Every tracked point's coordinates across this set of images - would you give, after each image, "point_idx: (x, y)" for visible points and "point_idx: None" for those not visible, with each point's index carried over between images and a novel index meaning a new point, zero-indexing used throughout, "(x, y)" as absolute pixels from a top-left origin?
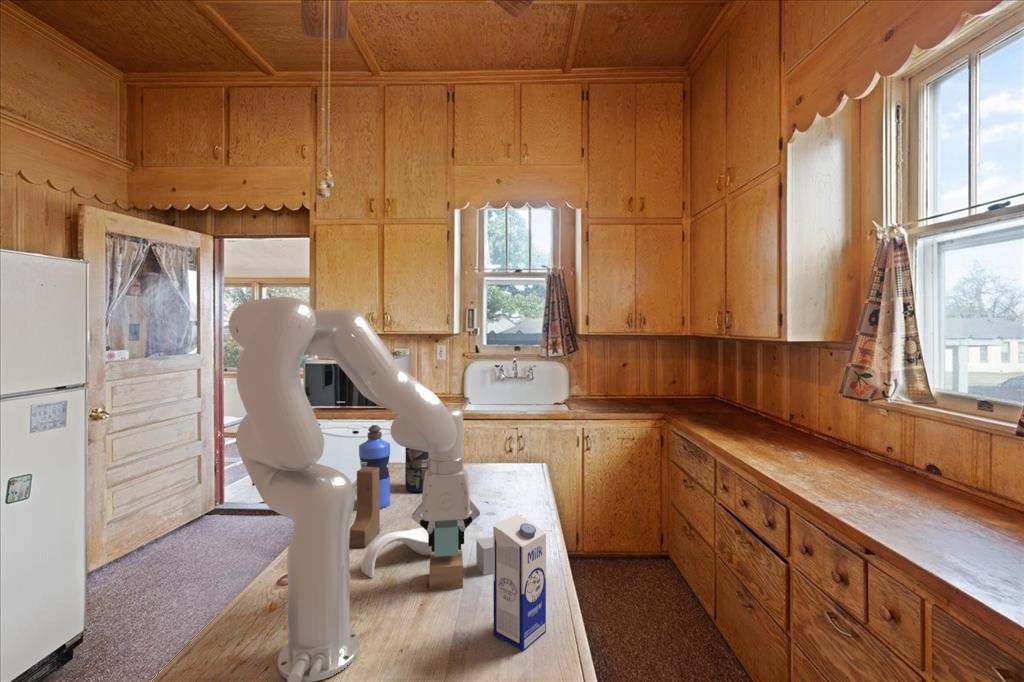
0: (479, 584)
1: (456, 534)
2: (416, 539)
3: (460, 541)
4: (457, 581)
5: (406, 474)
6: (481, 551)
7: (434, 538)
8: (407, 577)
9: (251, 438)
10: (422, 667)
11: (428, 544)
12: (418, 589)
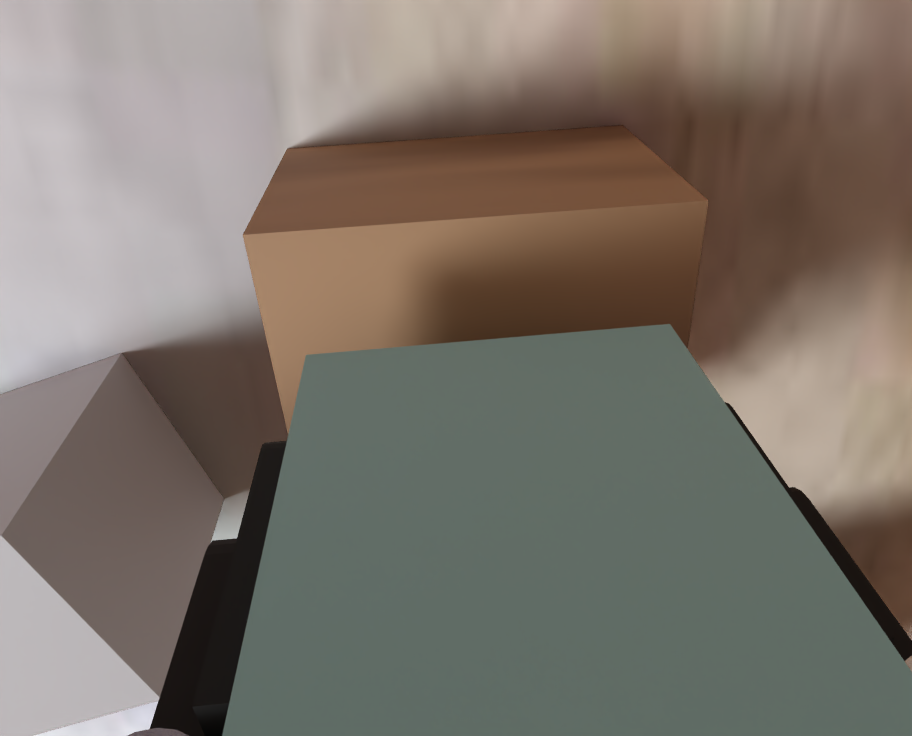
0: (128, 206)
1: (291, 628)
2: None
3: (249, 538)
4: (338, 166)
5: None
6: (83, 543)
7: None
8: (798, 352)
9: None
10: None
11: (810, 501)
12: (725, 154)
